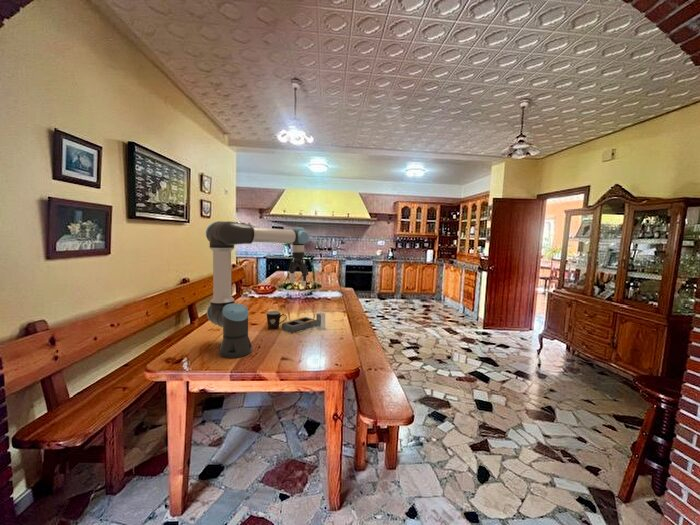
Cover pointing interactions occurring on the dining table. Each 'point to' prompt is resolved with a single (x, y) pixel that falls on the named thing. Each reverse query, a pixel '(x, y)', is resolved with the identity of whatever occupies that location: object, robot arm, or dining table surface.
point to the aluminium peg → (320, 321)
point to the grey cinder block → (298, 325)
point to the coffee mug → (274, 319)
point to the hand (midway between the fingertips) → (298, 284)
